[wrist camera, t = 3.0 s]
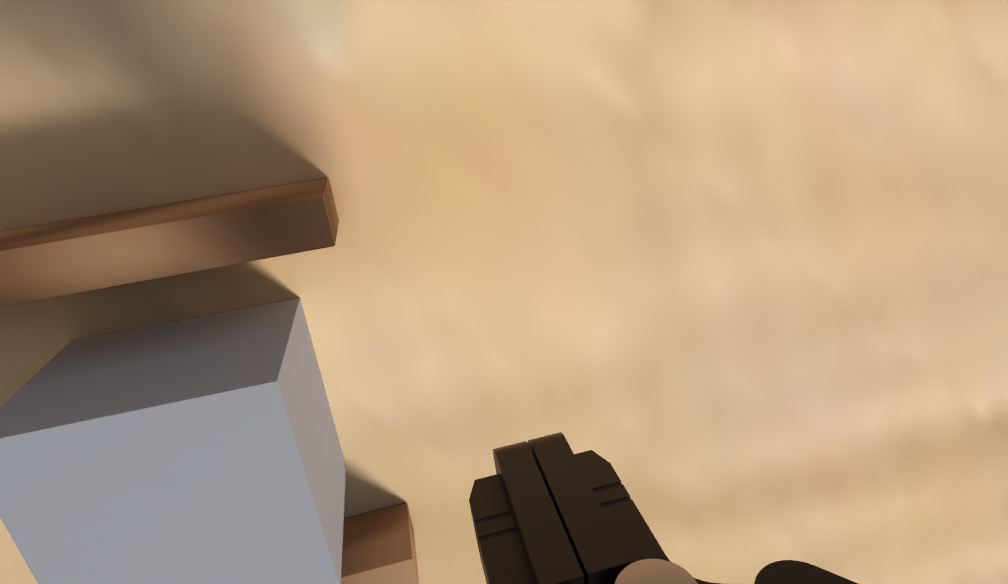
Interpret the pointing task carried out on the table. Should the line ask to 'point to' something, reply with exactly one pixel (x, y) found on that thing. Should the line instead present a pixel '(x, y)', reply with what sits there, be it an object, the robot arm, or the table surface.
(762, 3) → the table surface
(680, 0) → the table surface
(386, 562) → the trap lane
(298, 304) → the block
